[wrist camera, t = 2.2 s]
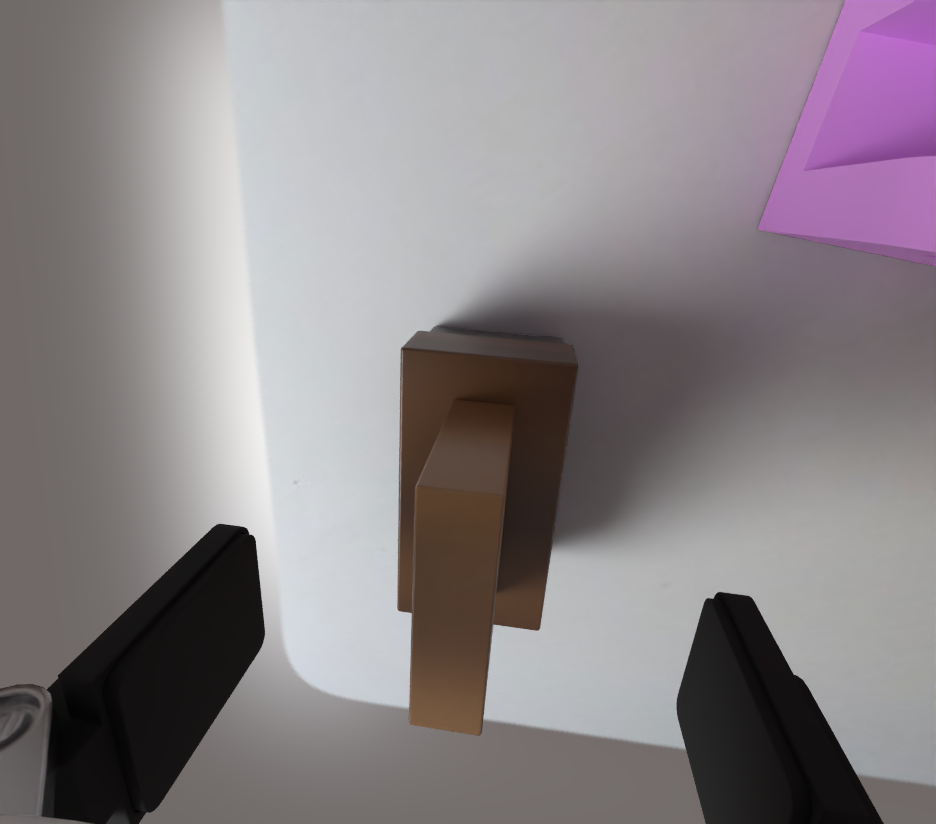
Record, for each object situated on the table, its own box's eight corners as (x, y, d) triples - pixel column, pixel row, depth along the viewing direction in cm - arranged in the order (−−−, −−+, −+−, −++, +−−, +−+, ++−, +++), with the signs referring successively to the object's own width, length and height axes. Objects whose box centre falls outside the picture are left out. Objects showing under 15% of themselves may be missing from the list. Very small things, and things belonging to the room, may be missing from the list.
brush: (427, 319, 16) (335, 414, 9) (570, 331, 16) (598, 442, 8) (420, 544, 19) (347, 752, 12) (539, 559, 19) (540, 785, 12)
